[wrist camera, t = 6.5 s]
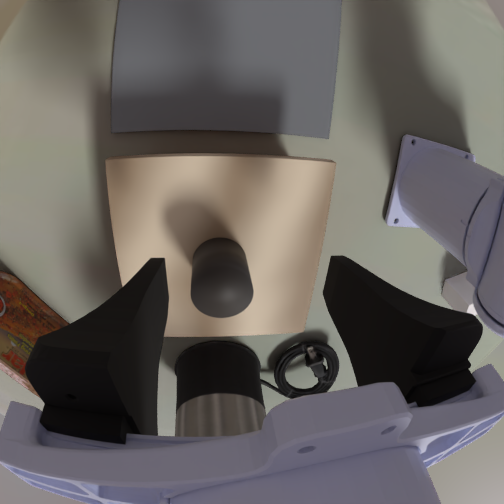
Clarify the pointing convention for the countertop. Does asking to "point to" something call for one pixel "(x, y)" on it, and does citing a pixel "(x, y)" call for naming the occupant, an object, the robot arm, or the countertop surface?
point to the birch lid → (224, 236)
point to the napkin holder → (459, 293)
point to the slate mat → (225, 65)
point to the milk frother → (238, 386)
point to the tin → (22, 326)
